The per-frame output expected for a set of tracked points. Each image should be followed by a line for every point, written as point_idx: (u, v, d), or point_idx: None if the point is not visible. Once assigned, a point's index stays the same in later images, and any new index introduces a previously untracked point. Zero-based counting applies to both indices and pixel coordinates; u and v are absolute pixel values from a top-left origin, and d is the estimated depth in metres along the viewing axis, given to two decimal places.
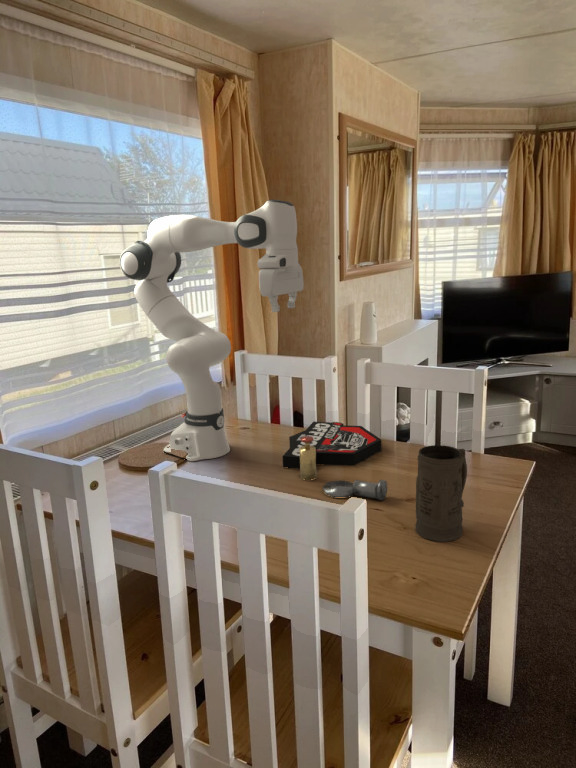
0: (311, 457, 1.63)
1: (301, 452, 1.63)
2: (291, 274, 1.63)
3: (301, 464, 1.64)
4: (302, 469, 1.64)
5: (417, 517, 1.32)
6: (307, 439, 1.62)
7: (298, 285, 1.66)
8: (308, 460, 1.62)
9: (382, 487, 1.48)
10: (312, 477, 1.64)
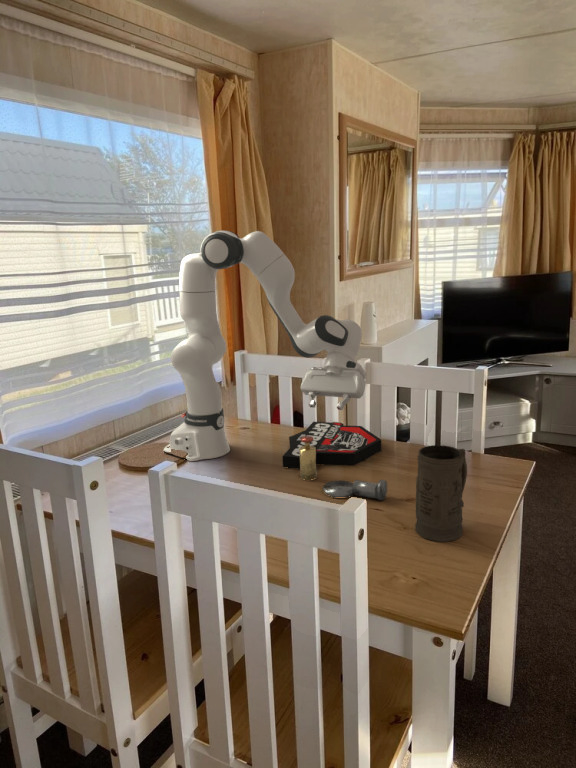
0: (311, 457, 1.63)
1: (301, 452, 1.63)
2: None
3: (301, 464, 1.64)
4: (302, 469, 1.64)
5: (417, 517, 1.32)
6: (307, 439, 1.62)
7: None
8: (308, 460, 1.62)
9: (382, 487, 1.48)
10: (312, 477, 1.64)
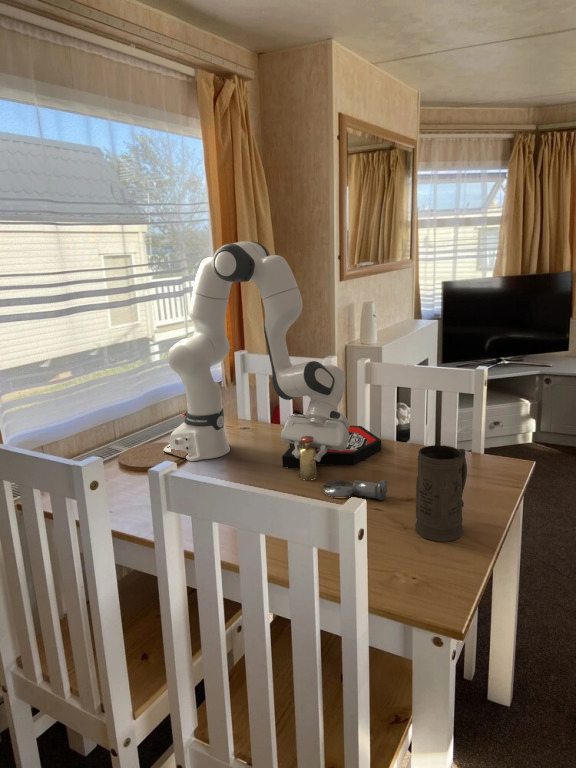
0: (311, 457, 1.63)
1: (301, 452, 1.63)
2: None
3: (301, 464, 1.64)
4: (302, 469, 1.64)
5: (417, 517, 1.32)
6: (307, 439, 1.62)
7: None
8: (308, 460, 1.62)
9: (382, 487, 1.48)
10: (312, 477, 1.64)
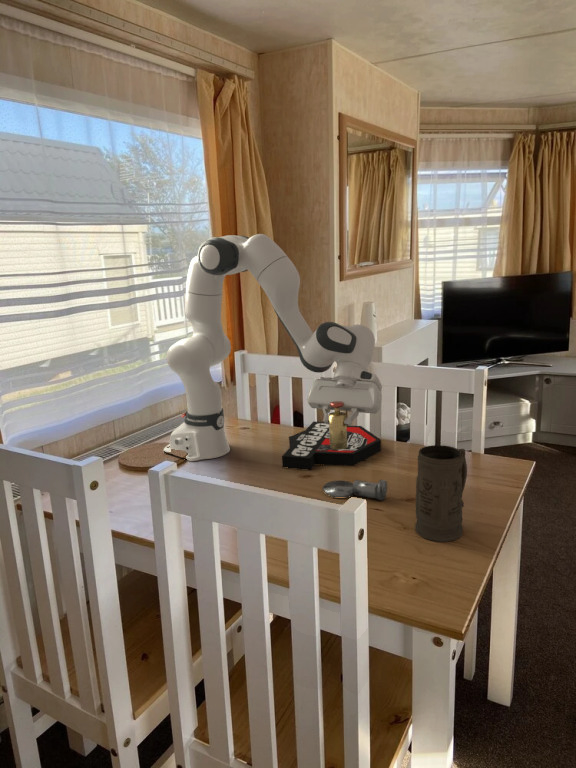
0: (342, 423, 1.50)
1: (331, 418, 1.50)
2: None
3: (331, 431, 1.52)
4: (332, 437, 1.51)
5: (417, 517, 1.32)
6: (337, 404, 1.50)
7: None
8: (338, 426, 1.50)
9: (382, 487, 1.48)
10: (343, 445, 1.52)
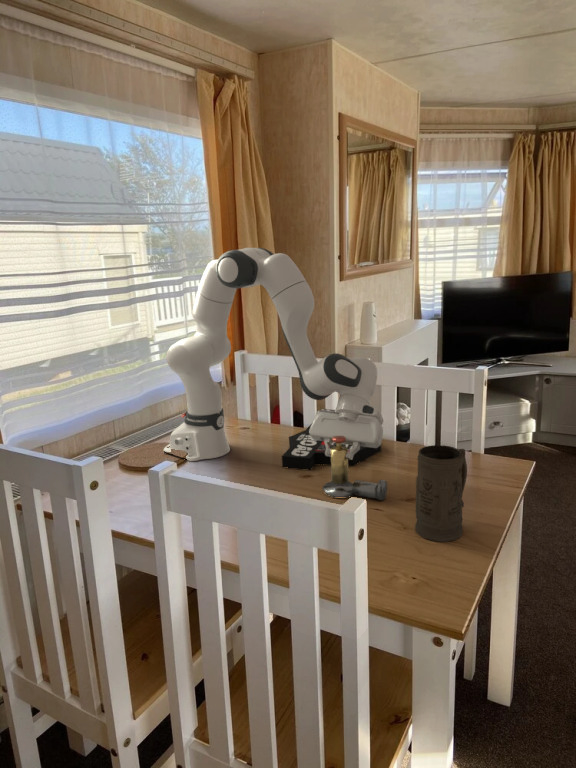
0: (343, 458, 1.52)
1: (332, 453, 1.52)
2: None
3: (332, 466, 1.53)
4: (334, 471, 1.53)
5: (417, 517, 1.32)
6: (339, 439, 1.52)
7: None
8: (340, 461, 1.52)
9: (382, 487, 1.48)
10: (344, 480, 1.53)
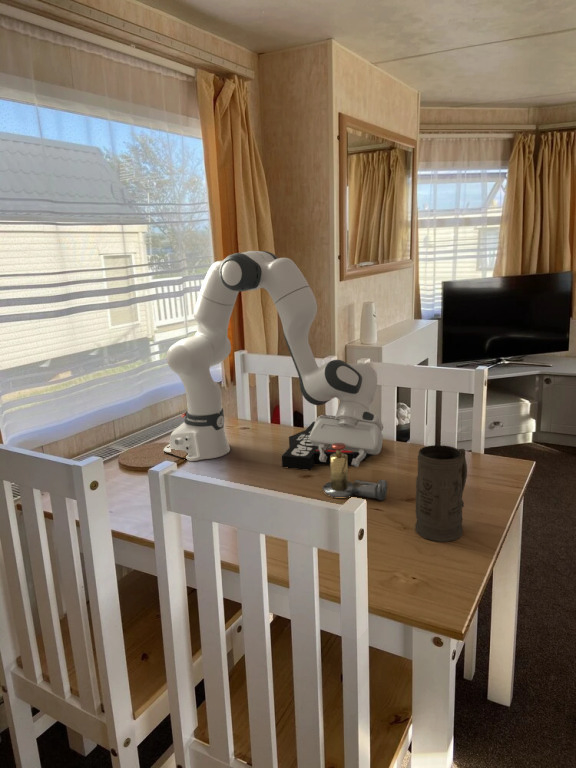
0: (343, 465, 1.52)
1: (332, 460, 1.53)
2: None
3: (332, 473, 1.54)
4: (333, 478, 1.54)
5: (417, 517, 1.32)
6: (339, 446, 1.52)
7: None
8: (339, 468, 1.52)
9: (382, 487, 1.48)
10: (344, 487, 1.54)
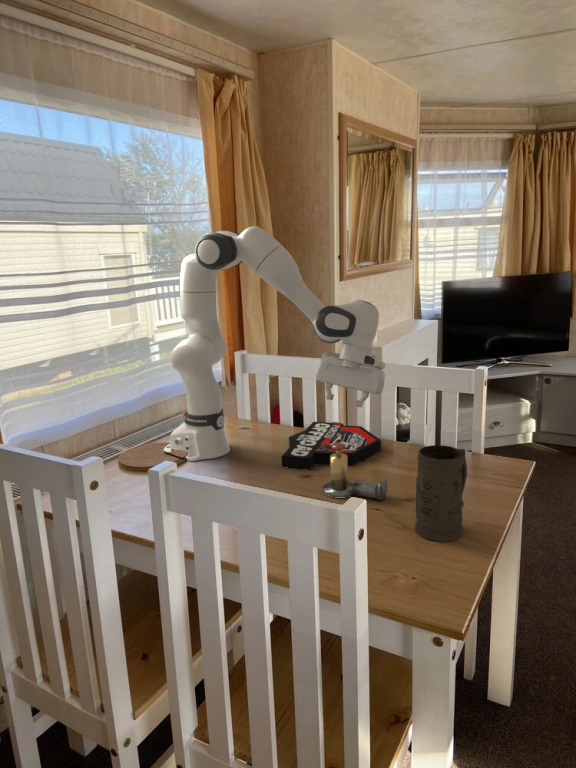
0: (343, 465, 1.52)
1: (332, 460, 1.53)
2: None
3: (332, 473, 1.54)
4: (333, 478, 1.54)
5: (417, 517, 1.32)
6: (339, 446, 1.52)
7: None
8: (339, 468, 1.52)
9: (382, 487, 1.48)
10: (344, 487, 1.54)
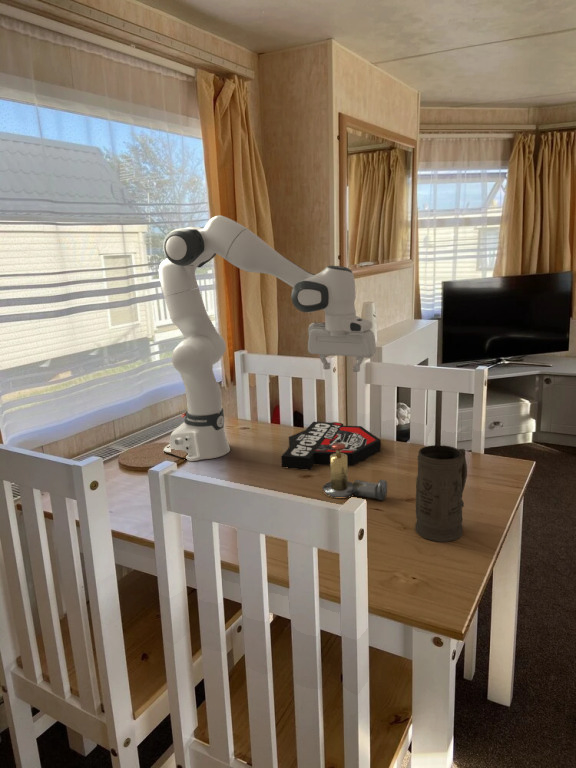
0: (343, 465, 1.52)
1: (332, 460, 1.53)
2: None
3: (332, 473, 1.54)
4: (333, 478, 1.54)
5: (417, 517, 1.32)
6: (339, 446, 1.52)
7: None
8: (339, 468, 1.52)
9: (382, 487, 1.48)
10: (344, 487, 1.54)
